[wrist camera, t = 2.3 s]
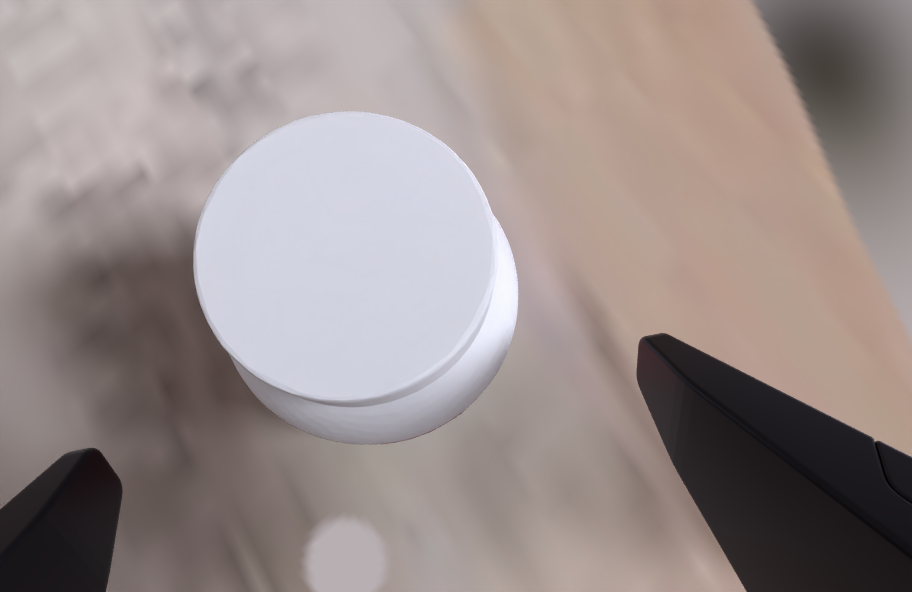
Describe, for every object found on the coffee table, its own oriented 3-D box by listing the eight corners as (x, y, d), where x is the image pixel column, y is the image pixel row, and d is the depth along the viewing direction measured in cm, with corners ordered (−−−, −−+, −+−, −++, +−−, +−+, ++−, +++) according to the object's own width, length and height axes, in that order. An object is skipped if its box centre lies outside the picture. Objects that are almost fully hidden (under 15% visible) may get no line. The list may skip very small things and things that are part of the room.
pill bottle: (481, 443, 19) (536, 478, 8) (297, 427, 19) (95, 440, 8) (494, 263, 20) (557, 82, 9) (322, 248, 20) (181, 48, 9)
